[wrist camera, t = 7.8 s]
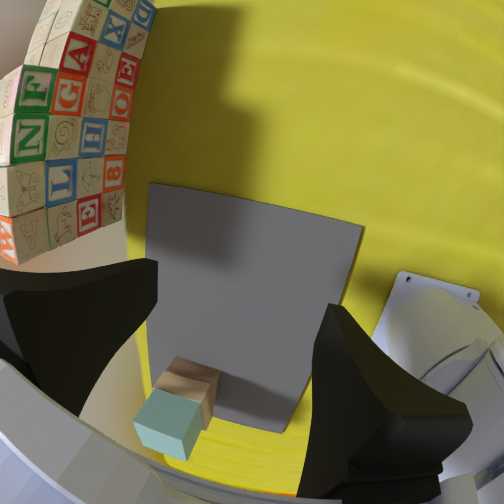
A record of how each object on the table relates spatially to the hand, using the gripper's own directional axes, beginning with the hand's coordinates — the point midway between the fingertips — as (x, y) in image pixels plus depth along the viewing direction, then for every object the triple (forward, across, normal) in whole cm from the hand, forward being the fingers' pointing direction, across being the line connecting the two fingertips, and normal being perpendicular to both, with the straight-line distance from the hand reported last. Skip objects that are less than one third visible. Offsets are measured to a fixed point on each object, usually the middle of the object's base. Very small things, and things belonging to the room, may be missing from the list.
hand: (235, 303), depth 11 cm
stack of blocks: (+11, +17, -9) cm, 22 cm away
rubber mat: (+10, +2, +11) cm, 15 cm away
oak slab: (+8, +4, +17) cm, 19 cm away
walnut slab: (+10, +4, +17) cm, 20 cm away
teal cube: (+5, +5, +17) cm, 18 cm away
